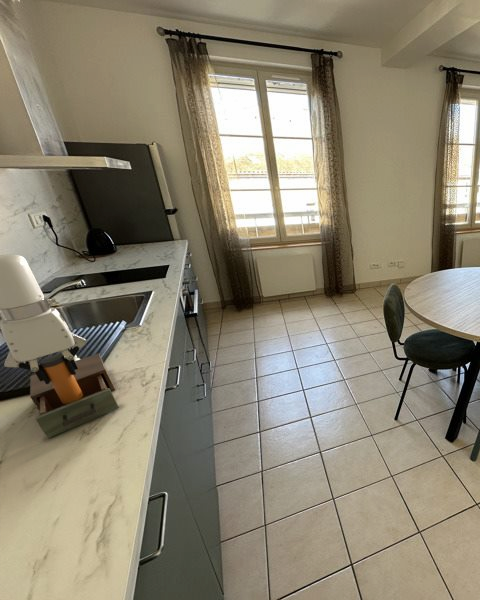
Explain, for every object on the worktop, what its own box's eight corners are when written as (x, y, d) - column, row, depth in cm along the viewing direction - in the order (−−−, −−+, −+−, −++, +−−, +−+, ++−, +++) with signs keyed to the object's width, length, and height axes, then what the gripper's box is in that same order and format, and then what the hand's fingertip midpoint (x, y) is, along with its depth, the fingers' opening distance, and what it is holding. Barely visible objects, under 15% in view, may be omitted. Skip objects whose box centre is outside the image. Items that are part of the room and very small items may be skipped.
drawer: (121, 415, 83) (112, 396, 80) (48, 447, 74) (35, 428, 72) (111, 388, 93) (103, 371, 91) (46, 414, 85) (35, 396, 82)
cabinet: (116, 391, 93) (105, 369, 90) (45, 420, 84) (30, 396, 81) (109, 373, 102) (98, 353, 99) (43, 398, 93) (30, 376, 90)
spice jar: (84, 397, 83) (63, 358, 79) (62, 406, 81) (39, 365, 76) (82, 391, 86) (62, 352, 81) (61, 399, 83) (39, 359, 79)
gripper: (73, 295, 82) (102, 357, 89) (-31, 318, 71) (12, 387, 78) (76, 302, 77) (106, 367, 84) (-35, 328, 66) (11, 401, 73)
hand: (61, 376), depth 81 cm, fingers closed on spice jar, 4 cm apart
